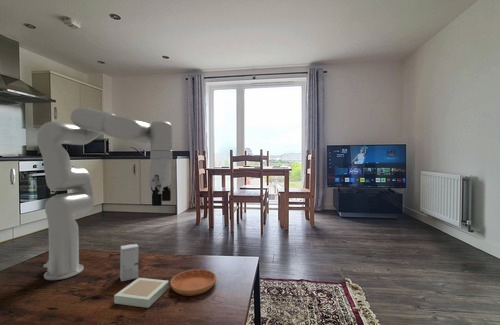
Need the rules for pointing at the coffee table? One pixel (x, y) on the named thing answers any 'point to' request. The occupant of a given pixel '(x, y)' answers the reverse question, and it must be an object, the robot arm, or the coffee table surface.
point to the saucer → (193, 282)
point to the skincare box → (129, 262)
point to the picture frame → (141, 292)
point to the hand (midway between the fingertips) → (161, 203)
